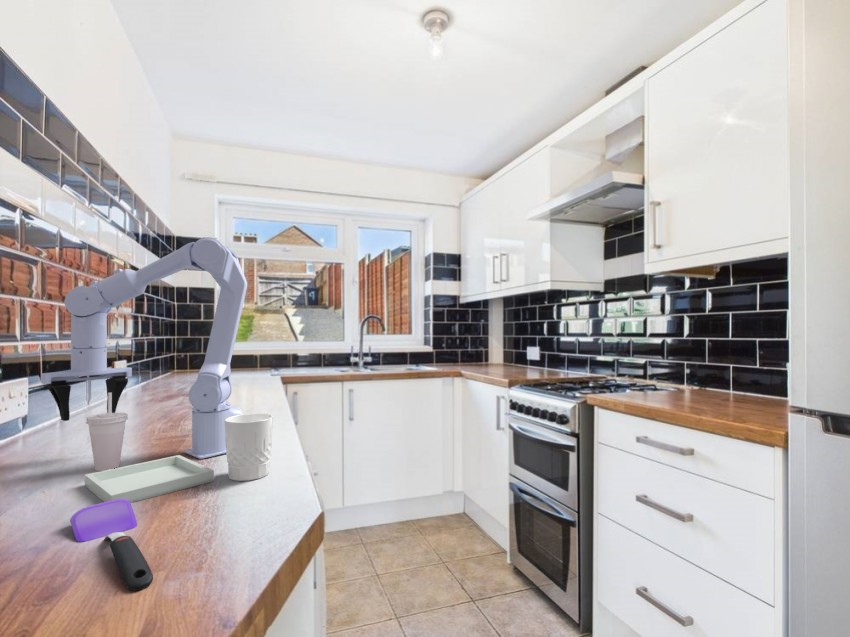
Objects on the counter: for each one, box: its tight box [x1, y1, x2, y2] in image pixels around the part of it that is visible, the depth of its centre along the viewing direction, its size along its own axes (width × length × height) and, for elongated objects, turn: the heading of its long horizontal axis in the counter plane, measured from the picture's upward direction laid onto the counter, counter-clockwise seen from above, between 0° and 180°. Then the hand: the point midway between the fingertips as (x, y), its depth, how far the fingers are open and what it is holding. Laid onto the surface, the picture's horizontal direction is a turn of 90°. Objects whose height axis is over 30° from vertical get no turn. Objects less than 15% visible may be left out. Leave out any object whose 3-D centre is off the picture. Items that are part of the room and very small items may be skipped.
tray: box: [84, 454, 215, 504], centre depth 75 cm, size 15×15×2 cm
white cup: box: [225, 413, 274, 482], centre depth 79 cm, size 8×8×10 cm
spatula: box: [69, 499, 154, 591], centre depth 53 cm, size 24×7×2 cm, turn 44°
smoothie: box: [85, 392, 129, 472], centre depth 84 cm, size 6×6×14 cm
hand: (89, 416), depth 89 cm, fingers open, 7 cm apart
